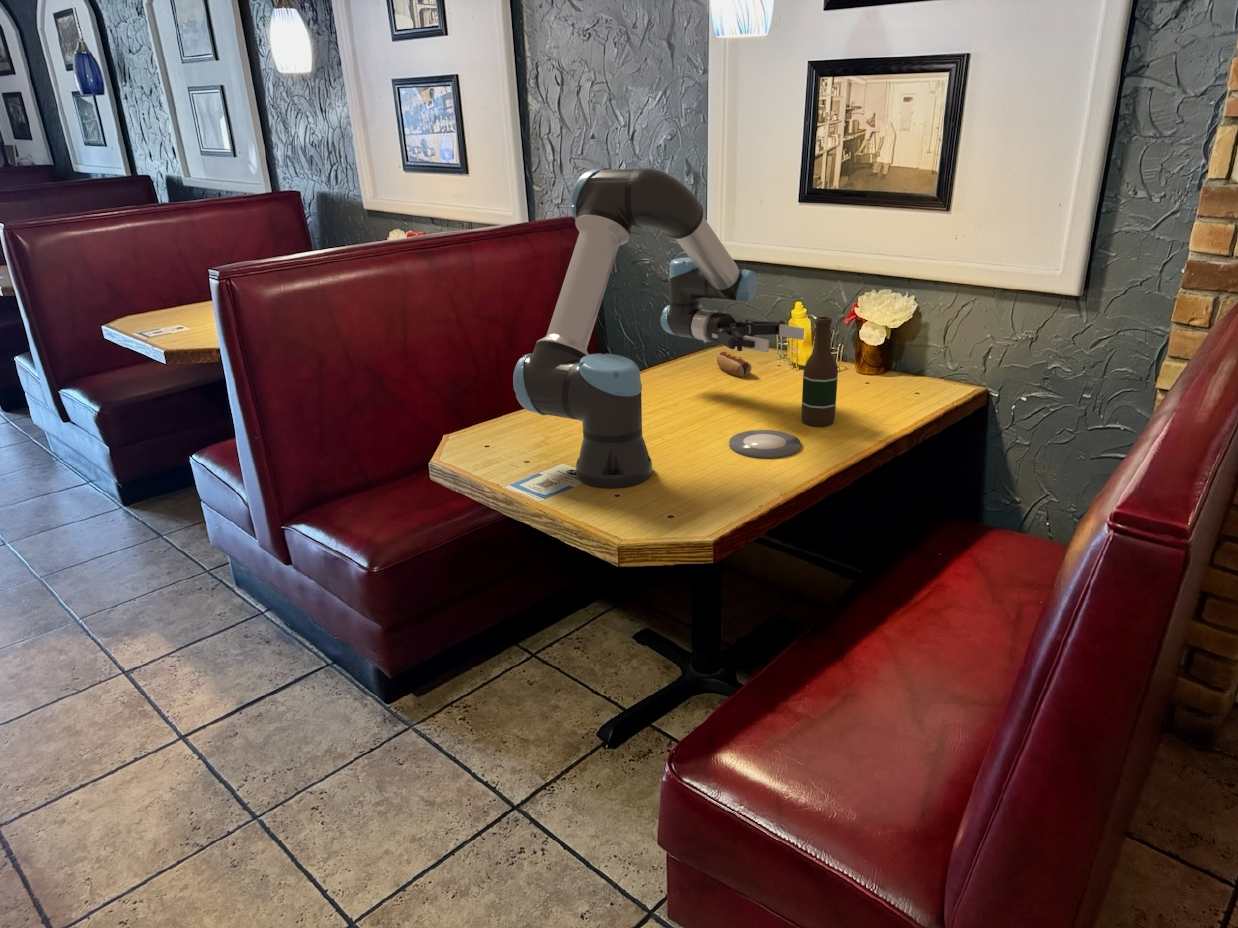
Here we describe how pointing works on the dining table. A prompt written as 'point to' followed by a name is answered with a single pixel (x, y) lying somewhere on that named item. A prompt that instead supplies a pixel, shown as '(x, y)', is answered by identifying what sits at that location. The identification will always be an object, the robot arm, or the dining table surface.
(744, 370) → the food
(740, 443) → the slate coaster
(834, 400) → the beer bottle
